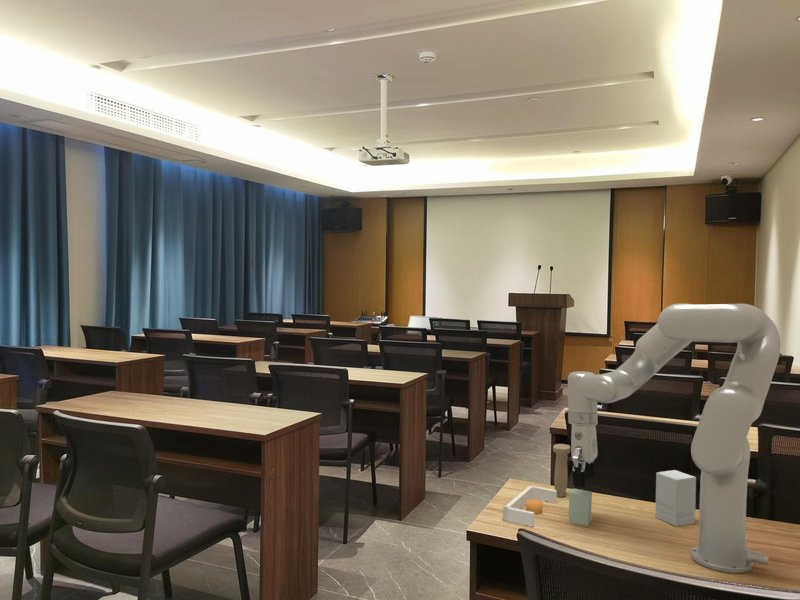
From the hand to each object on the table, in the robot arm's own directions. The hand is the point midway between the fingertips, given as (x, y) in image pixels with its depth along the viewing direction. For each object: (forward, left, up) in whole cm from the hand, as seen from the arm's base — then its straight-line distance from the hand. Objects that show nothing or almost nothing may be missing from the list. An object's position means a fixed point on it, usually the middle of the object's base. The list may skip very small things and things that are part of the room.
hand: (583, 481), depth 161 cm
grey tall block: (+1, 0, -11) cm, 11 cm away
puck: (+13, 0, -11) cm, 18 cm away
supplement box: (-21, -16, -11) cm, 29 cm away
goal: (+14, 0, -11) cm, 18 cm away
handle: (+11, -18, -11) cm, 24 cm away
